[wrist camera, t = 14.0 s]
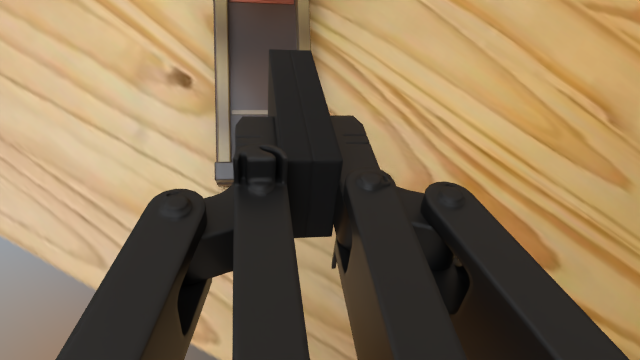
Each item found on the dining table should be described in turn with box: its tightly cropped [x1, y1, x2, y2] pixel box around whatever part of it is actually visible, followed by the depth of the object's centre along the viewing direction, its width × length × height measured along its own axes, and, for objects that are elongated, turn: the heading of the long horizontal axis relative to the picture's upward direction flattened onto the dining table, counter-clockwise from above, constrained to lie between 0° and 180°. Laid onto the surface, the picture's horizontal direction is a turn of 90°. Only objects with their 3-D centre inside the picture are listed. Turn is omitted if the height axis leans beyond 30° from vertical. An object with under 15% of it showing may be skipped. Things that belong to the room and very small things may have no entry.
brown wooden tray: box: [213, 0, 311, 186], centre depth 32 cm, size 21×7×4 cm, turn 2°
